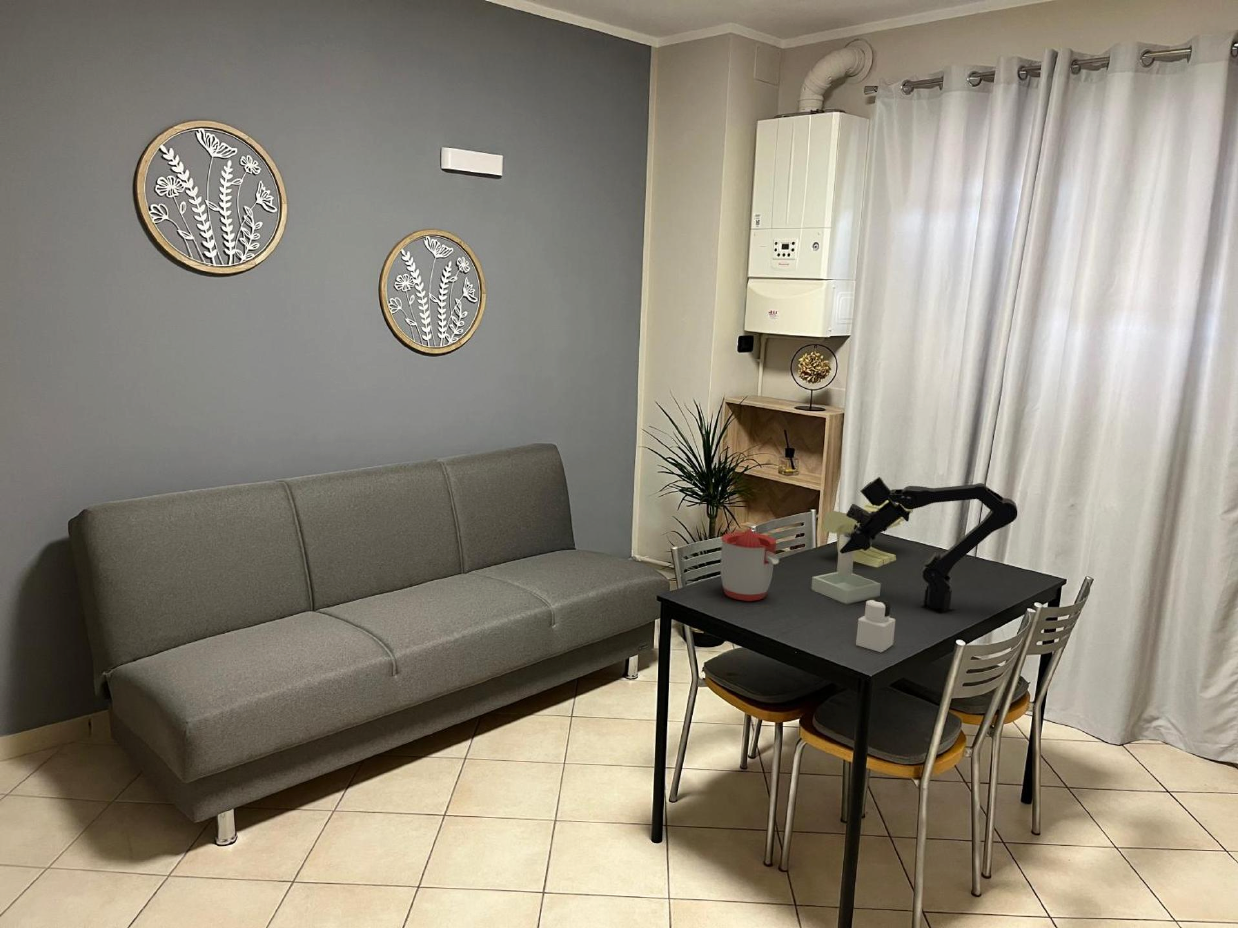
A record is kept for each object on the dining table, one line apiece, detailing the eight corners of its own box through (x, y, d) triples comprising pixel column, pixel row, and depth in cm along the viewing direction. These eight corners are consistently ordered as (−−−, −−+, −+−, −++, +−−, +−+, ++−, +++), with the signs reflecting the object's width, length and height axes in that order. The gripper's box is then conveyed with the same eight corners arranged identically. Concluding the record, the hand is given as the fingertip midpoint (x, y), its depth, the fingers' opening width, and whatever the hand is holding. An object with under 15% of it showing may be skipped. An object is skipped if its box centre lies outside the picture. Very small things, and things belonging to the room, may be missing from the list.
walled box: (879, 596, 274) (880, 583, 273) (846, 604, 266) (847, 590, 265) (843, 582, 285) (845, 570, 284) (811, 589, 278) (812, 576, 277)
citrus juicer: (760, 609, 259) (765, 541, 255) (707, 595, 269) (711, 528, 265) (786, 596, 271) (791, 530, 267) (735, 582, 281) (739, 519, 277)
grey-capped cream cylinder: (854, 574, 271) (857, 534, 269) (840, 574, 271) (843, 535, 269) (849, 569, 276) (852, 530, 273) (834, 569, 275) (837, 530, 273)
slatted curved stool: (866, 544, 329) (871, 495, 325) (908, 555, 318) (913, 504, 314) (820, 560, 307) (825, 508, 304) (863, 572, 296) (868, 518, 293)
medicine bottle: (867, 637, 241) (871, 593, 239) (893, 645, 237) (897, 600, 235) (855, 645, 236) (859, 600, 234) (881, 653, 232) (886, 607, 229)
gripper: (868, 490, 276) (827, 521, 282) (861, 503, 259) (818, 536, 265) (893, 518, 275) (852, 550, 281) (888, 534, 258) (844, 566, 264)
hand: (841, 550), depth 272 cm, fingers closed on grey-capped cream cylinder, 4 cm apart
